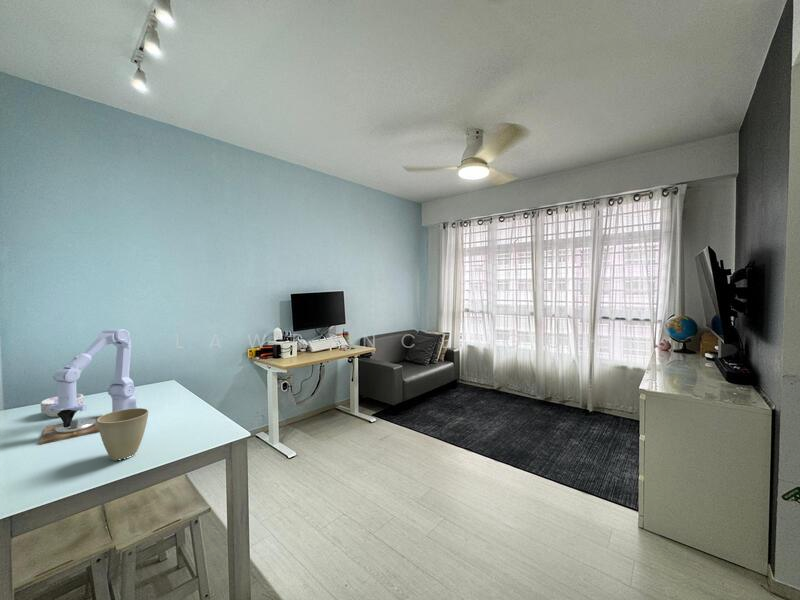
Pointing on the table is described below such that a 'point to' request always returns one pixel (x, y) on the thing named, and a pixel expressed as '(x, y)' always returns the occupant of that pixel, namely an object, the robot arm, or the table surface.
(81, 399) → the paper bowls
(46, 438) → the plate
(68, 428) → the dial
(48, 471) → the table surface
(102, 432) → the plant pot
